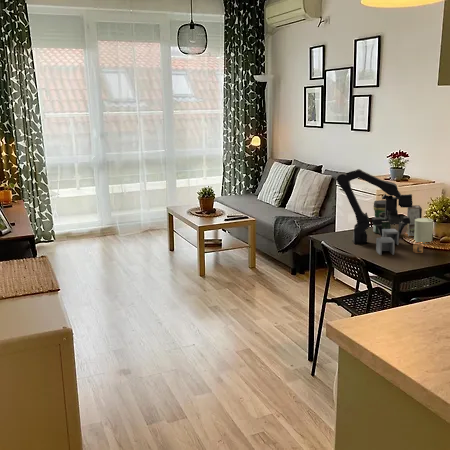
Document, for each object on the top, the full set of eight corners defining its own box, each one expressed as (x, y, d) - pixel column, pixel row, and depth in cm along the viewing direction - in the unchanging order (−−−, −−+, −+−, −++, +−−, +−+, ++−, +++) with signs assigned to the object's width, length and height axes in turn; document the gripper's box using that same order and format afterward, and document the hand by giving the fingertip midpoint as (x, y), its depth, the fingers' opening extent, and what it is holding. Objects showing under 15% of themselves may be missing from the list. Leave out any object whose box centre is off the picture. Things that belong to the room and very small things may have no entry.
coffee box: (421, 237, 278) (422, 208, 274) (408, 237, 279) (409, 208, 276) (418, 233, 287) (419, 205, 283) (406, 233, 288) (407, 205, 284)
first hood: (379, 255, 251) (380, 241, 250) (376, 251, 258) (376, 237, 257) (394, 254, 251) (394, 240, 250) (390, 250, 258) (390, 237, 256)
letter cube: (415, 253, 252) (415, 246, 251) (412, 251, 256) (413, 244, 255) (422, 252, 252) (423, 245, 251) (420, 250, 256) (420, 243, 255)
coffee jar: (388, 230, 296) (389, 198, 291) (392, 233, 288) (393, 201, 284) (371, 230, 297) (372, 199, 292) (374, 234, 289) (375, 202, 284)
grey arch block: (385, 245, 267) (385, 232, 265) (381, 241, 274) (381, 229, 272) (398, 245, 267) (399, 232, 265) (394, 241, 273) (394, 228, 272)
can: (434, 243, 266) (435, 221, 263) (415, 243, 268) (416, 221, 265) (430, 238, 275) (431, 217, 272) (412, 238, 277) (413, 217, 274)
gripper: (377, 211, 258) (376, 241, 262) (414, 209, 257) (413, 239, 261) (371, 206, 269) (370, 235, 272) (407, 205, 268) (406, 234, 272)
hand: (390, 236), depth 269 cm, fingers open, 9 cm apart
